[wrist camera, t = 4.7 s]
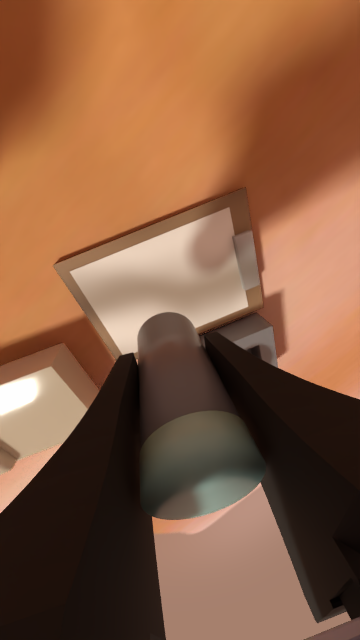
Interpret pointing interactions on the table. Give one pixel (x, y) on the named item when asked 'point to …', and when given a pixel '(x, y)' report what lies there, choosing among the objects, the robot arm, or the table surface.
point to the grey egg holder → (251, 337)
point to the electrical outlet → (41, 402)
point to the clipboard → (170, 273)
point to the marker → (188, 427)
